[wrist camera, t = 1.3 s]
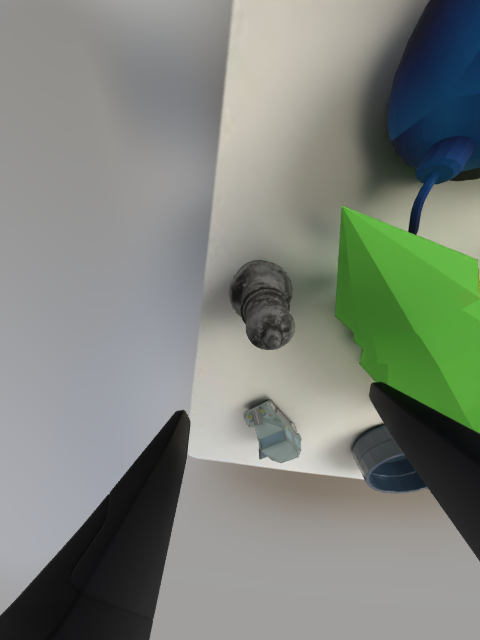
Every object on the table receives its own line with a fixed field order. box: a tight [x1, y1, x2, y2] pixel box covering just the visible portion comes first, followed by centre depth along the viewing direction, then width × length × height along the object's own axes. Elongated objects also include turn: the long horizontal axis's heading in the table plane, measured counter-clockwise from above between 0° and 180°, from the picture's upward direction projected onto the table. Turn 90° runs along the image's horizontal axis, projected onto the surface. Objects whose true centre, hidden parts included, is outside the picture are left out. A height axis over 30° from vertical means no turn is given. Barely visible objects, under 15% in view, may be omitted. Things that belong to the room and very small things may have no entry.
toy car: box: [244, 400, 301, 463], centre depth 27 cm, size 6×10×5 cm, turn 37°
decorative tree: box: [335, 206, 480, 433], centre depth 16 cm, size 11×12×30 cm
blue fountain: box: [352, 425, 428, 493], centre depth 30 cm, size 13×13×4 cm
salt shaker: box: [229, 260, 295, 350], centre depth 14 cm, size 6×6×12 cm
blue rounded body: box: [388, 0, 480, 235], centre depth 10 cm, size 10×11×15 cm
